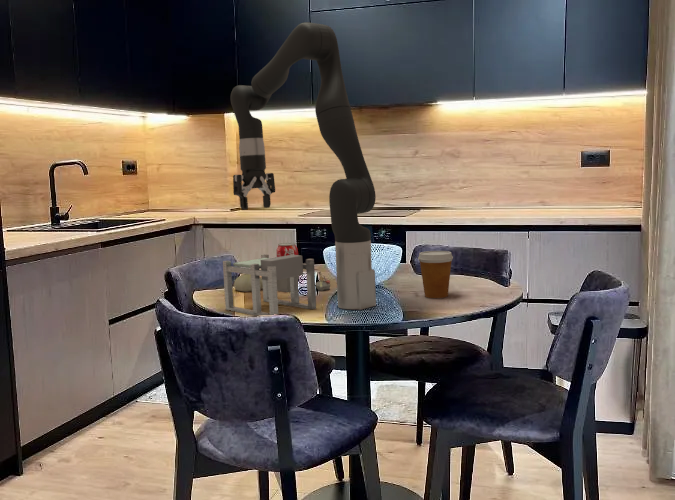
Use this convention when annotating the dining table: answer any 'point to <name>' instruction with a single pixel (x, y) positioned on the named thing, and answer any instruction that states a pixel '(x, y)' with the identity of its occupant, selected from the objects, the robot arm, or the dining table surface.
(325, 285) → the figurine
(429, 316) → the dining table surface
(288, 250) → the soda can
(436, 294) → the disposable coffee cup
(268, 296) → the frame
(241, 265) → the trapdoor
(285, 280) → the basalt cube
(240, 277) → the sea urchin shell
